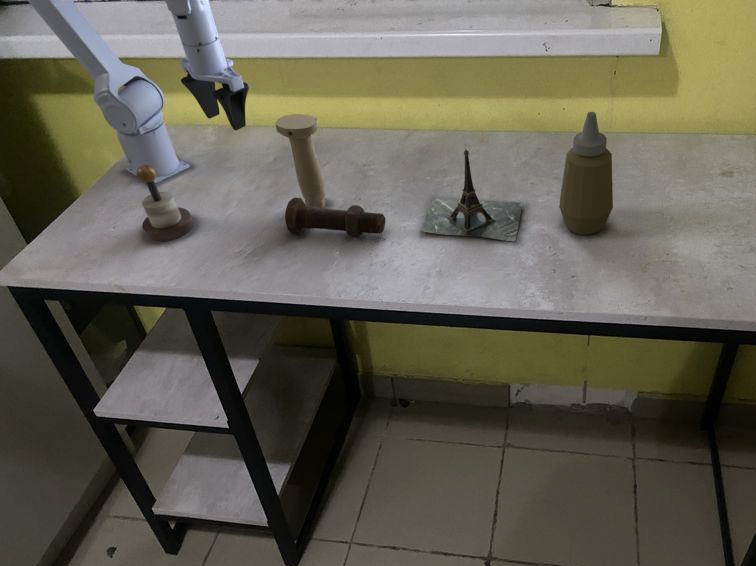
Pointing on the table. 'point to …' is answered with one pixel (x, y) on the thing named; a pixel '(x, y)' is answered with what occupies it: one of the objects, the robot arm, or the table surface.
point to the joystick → (162, 211)
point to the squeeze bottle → (587, 181)
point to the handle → (304, 156)
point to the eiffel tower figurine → (473, 214)
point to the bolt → (332, 219)
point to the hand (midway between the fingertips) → (226, 121)
